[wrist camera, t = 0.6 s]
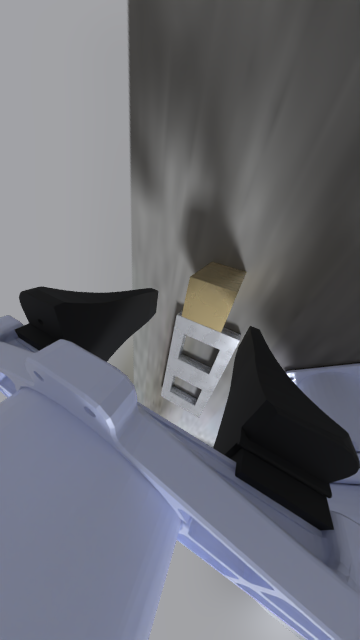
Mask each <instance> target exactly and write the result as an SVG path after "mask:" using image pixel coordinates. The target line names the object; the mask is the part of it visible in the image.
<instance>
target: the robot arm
mask: <svg viewBox="0 0 360 640" xmlns="http://www.w3.org/2000/svg"><path fill="white" fill-rule="evenodd" d="M157 298H158V291H157V290H155V289H152V288H146V289H138V290H130V291H122V292H110V293H89V292H88V293H87V292H74V291H66V290H59V289H53V288H47V287H37V288H33V289H29V290H25V291H22V292H21V293H20V296H19V299H20V303H21V306H22V308H23V311H24V313H25V315H26V317H27V319H28V321H29V324H27V325H23V324H22V323H21V322H20V321H18V320H16V319H15V318H13V317H11V316H9V315H6V316H4V317H1V318H0V392H2V393H3V394H4V395H5V396H6V397H7V399H5V400H4V401H2V402H1V403H0V640H148V639H149V635H150V632H151V628H152V625H153V621H154V618H155V614H156V611H157V607H158V604H159V600H160V597H161V593H162V589H163V586H164V582H165V579H166V576H167V572H168V568H169V565H170V561H171V558H172V554H173V551H174V547H175V544H176V540H178V541H179V542H180V543H182V544H183V545H184V546H186V547H187V548H188V549H189V550H191V551H192V552H193V553H195V554H196V555H198V556H199V557H200V558H201V559H203V560H204V561H205V562H207V563H208V564H209V565H210V566H212V567H213V568H214V569H216V570H217V571H218V572H220V573H221V574H223V575H224V576H225V577H226V578H228V579H229V580H230V581H231V582H233V583H234V584H236V585H237V586H238V587H239V588H241V589H242V590H243V591H244V592H246V593H247V594H248V595H250V596H251V597H252V598H254V599H255V600H256V601H258V602H259V603H260V604H261V605H263V606H264V607H265V608H267V609H268V610H269V611H271V612H272V613H273V614H274V615H276V616H277V617H278V618H280V619H281V620H282V621H283V622H285V623H286V624H287V625H289V626H290V627H291V628H292V629H294V630H295V631H296V632H297V633H299V634H300V635H301V636H302V637H304V638H305V639H306V640H360V363H358V364H349V365H339V366H330V367H320V368H310V369H301V370H291V371H287V372H285V371H284V370H283V369H282V367H281V366H280V365H279V363H278V362H277V360H276V359H275V357H274V356H273V354H272V352H271V351H270V349H269V347H268V345H267V344H266V342H265V340H264V338H263V336H262V334H261V332H260V330H259V329H257V328H254V327H252V326H250V327H249V329H248V331H247V332H246V334H245V336H244V338H243V340H242V342H241V344H240V345H239V347H238V350H237V353H236V357H235V361H234V368H233V374H232V381H231V387H230V392H229V396H228V400H227V404H226V407H225V411H224V414H223V418H222V421H221V425H220V428H219V431H218V435H217V438H216V441H215V444H214V448H212V447H210V446H209V445H207V444H205V443H204V442H202V441H200V440H199V439H197V438H196V437H194V436H192V435H191V434H189V433H187V432H186V431H184V430H183V429H181V428H179V427H178V426H176V425H174V424H173V423H171V422H170V421H168V420H166V419H165V418H163V417H162V416H160V415H158V414H157V413H155V412H153V411H152V410H150V409H149V408H147V407H145V406H144V405H142V404H140V403H139V402H137V393H136V390H135V387H134V385H133V384H132V382H131V381H130V379H129V378H128V377H127V376H126V375H125V374H124V373H123V372H121V371H120V370H119V369H117V368H116V367H114V366H113V365H111V364H109V363H107V361H108V360H109V358H110V357H111V356H112V355H113V354H114V352H116V350H117V349H118V348H119V347H120V346H121V345H122V344H123V343H124V342H125V341H126V340H127V339H128V338H129V337H130V336H131V335H133V334H134V333H135V332H136V331H137V330H139V329H140V328H141V327H142V326H143V325H145V324H146V323H147V322H148V321H149V320H150V319H151V318H152V317H153V315H154V314H155V313H156V307H157ZM290 377H293V378H290Z"/></svg>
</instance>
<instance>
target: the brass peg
mask: <svg viewBox="0 0 360 640" xmlns="http://www.w3.org/2000/svg"><path fill="white" fill-rule="evenodd" d="M245 274H246V272H245V271H241V270H238V269H235V268H231V267H228V266H224V265H221V264H218V263H214V262H211V263H210V264H208V265H207V266H205V267H204V268H202V269H201V270H200V271H198V272H197V273H195V274H194V275H192V276H191V277H190V280H189V284H188V289H187V294H186V298H185V303H184V307H183V312H182V317H184V318H187V319H189V320H192V321H194V322H197V323H199V324H201V325H204V326H206V327H209V328H211V329H214V330H216V331H218V332H221V331H222V329H223V327H224V324H225V322H226V319H227V317H228V315H229V312H230V310H231V308H232V305H233V303H234V300H235V298H236V296H237V293H238V291H239V288H240V286H241V284H242V281H243V279H244V276H245Z"/></svg>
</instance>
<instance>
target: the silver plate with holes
mask: <svg viewBox="0 0 360 640" xmlns="http://www.w3.org/2000/svg"><path fill="white" fill-rule="evenodd" d="M182 312H183V311H180V312H179V313H178V314H177V317H176V322H175V327H174V332H173V337H172V342H171V347H170V352H169V357H168V363H167V368H166V373H165V378H164V383H163V388H162V393H161V396H162V397H164V398H165V399H167V400H169V401H170V402H172V403H174V404H176V405H177V406H179V407H181V408H183V409H184V410H186V411H188V412H190V413H191V414H193V415H195V416H197V417H198V418H199V417H200V415H201V413H202V411H203V409H204V408H205V406H206V404H207V402H208V400H209V398H210V396H211V394H212V392H213V390H214V389H215V387H216V385H217V383H218V381H219V379H220V377H221V375H222V373H223V371H224V370H225V368H226V366H227V364H228V362H229V360H230V358H231V356H232V354H233V352H234V351H235V349H236V347H237V345H238V343H239V341H240V337H241V334H239V333H236V332H234V331H231V330H229V329H226V328H224V327H223V329H222V331H221V332H218V331H216V330H214V329H211V328H209V327H206V326H204V325H201V324H199V323H197V322H194V321H192V320H189V319H187V318H184V317H182ZM186 335H187V336H190V337H192V338H194V339H197V340H199V341H201V342H203V343H206V344H208V345H210V346H212V347H215V348H217V349H219V352H218V355H217V357H216V359H215V361H214V364H213V366H212V368H211V367H209V366H207V365H204V364H202V363H200V362H198V361H196V360H194V359H192V358H190V357H188V356H186V355H184V354H182V350H183V346H184V342H185V338H186ZM176 376H177V377H179V378H180V379H182V380H184V381H186V382H188V383H190V384H192V385H194V386H196V387H198V388H200V389H202V390H201V393H200V395H199V397H198V399H196V398H194V397H192V396H191V395H189V394H187V393H185V392H183V391H181V390H180V389H178V388H176V387H174V386H173V384H174V381H175V377H176Z"/></svg>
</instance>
